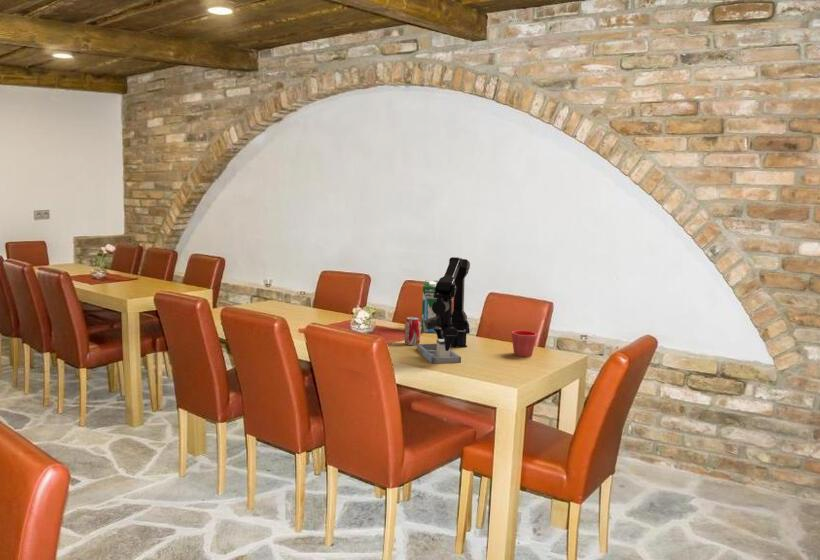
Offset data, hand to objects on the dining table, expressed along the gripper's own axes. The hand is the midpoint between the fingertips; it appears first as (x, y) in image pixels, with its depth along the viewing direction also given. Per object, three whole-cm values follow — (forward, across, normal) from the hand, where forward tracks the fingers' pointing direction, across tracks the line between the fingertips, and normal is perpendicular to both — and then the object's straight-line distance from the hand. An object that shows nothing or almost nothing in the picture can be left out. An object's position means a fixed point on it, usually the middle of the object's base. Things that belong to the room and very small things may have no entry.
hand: (443, 348), depth 290 cm
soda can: (+5, -29, -6) cm, 30 cm away
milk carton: (+5, -58, +11) cm, 59 cm away
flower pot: (+5, -3, +37) cm, 37 cm away
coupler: (+4, 0, 0) cm, 5 cm away
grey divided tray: (+4, -6, 0) cm, 8 cm away
